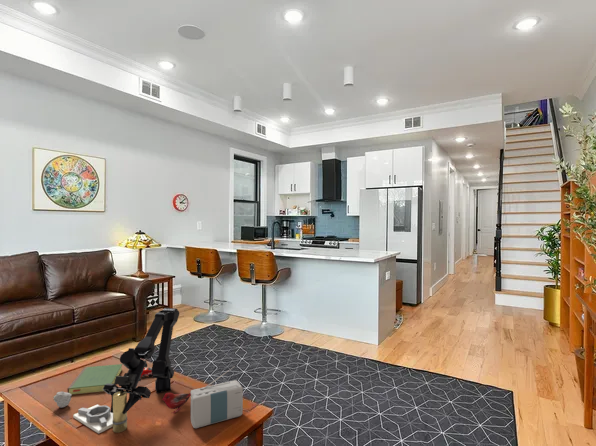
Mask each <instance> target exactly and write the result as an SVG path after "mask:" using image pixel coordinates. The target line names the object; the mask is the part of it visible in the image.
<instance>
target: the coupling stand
mask: <svg viewBox="0 0 596 446" xmlns="http://www.w3.org/2000/svg"><path fill="white" fill-rule="evenodd" d="M77 411H78V412H77V413H74V414H73V419H74V420H76V421H78V422H79V423H81V424H82V425H84V426H86V427H87V428H89V429H90V430H92V431H93V432H95V433H97V434H100V433H103V432H105V431H107V430H109V429H111V428H113V423H112V421H113V413H111V406H108V405H106V404H105V405H99V404H98V403H97V404H95V405H93V406H91V407H88V408H87V407H80V408H78V410H77Z"/></svg>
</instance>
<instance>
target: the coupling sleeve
mask: <svg viewBox="0 0 596 446" xmlns="http://www.w3.org/2000/svg"><path fill="white" fill-rule="evenodd" d="M125 391H126V390H125ZM125 391H120V392H116V393H114V394H113V421H112V423H113V427H112V431H113V432H114V433H117V434H118V433H122V432H124V431H126V430H127V428H128V411H127V412H126V413H125V414H123V411H124V408H125V406H126V404H127V401H128V393H127V392H125Z"/></svg>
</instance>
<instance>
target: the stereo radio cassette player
mask: <svg viewBox="0 0 596 446" xmlns="http://www.w3.org/2000/svg"><path fill="white" fill-rule="evenodd" d="M235 367H236V366H235V365H233V367H232V368H230V369H229V370H227V371H225V372H224V373H222V374H221V375H220V376H218V377H217V378H215V379H214V380H213V381H211V382H210V383H209V384H207V385H206V386H204V387H200V388H195V389H191V390H190V393H191V396H190V423H191V425H192V427H193V428H194V429H198V428H203V427H205V426H209V425H213V424H216V423H220V422H223V421H228V420H231V419H234V418H239V417H241V416H242V415H243V411H244V410H243V407H244V405H243V404H244V403H243V402H244V401H243V400H244V392H243V391H244V390H243V389H244V388H243V386H242V385H241V383H240V382H239V381H238V380H236V379H235V380H230V381H226V382H221V383H217V384H214V383H215V382H216V381H217V380H219V379H220V378H221V377H223V376H225V375H226V374H227V373H228V372H230V371H231V370H232V369H233V368H235Z"/></svg>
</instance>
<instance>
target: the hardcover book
mask: <svg viewBox="0 0 596 446" xmlns="http://www.w3.org/2000/svg"><path fill="white" fill-rule="evenodd" d="M122 370H123V364H122V363H120V364H119V363H118V364H117V363H115V364H107V365H97V366H85V367H83V368H82V370H81V371H80V372H79V374H78V375H77V376H76V377H75V378H74V380H73V381H72V383H71V384H69V386H68V387H67V393H70V394H71V395H79V394H80V395H81V394H89V393H98V392H99V393H100V392H104V391H103V390H102V389H103V387H104V385H105V384H107V383H109V384H114V382H115V379H116V376H120V375H121V373H122Z"/></svg>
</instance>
